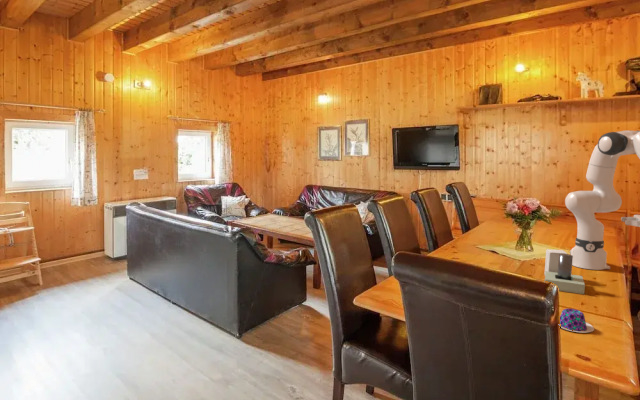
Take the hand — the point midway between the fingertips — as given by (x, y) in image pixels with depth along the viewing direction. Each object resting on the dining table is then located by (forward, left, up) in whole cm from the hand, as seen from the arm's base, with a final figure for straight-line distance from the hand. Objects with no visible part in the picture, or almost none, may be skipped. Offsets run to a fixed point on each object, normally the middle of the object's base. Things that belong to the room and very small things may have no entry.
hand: (623, 220), depth 160 cm
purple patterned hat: (+49, -18, -30) cm, 60 cm away
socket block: (+4, -19, -30) cm, 36 cm away
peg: (+4, -19, -30) cm, 36 cm away
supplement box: (-9, -22, -30) cm, 39 cm away
